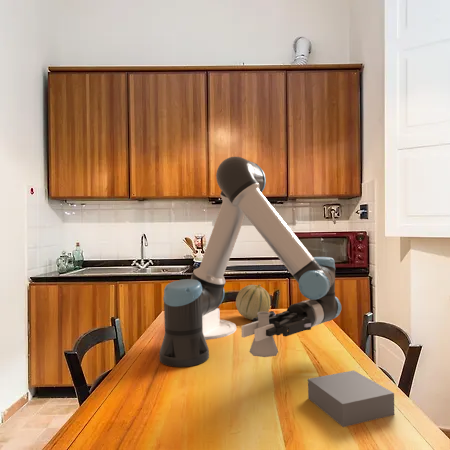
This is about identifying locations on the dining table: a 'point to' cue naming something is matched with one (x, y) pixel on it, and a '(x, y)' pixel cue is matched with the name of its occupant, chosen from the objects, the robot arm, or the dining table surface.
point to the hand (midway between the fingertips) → (249, 333)
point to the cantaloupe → (252, 301)
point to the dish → (216, 325)
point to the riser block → (350, 397)
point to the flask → (263, 340)
